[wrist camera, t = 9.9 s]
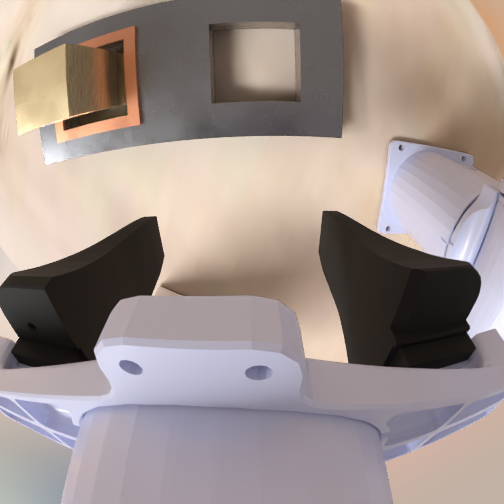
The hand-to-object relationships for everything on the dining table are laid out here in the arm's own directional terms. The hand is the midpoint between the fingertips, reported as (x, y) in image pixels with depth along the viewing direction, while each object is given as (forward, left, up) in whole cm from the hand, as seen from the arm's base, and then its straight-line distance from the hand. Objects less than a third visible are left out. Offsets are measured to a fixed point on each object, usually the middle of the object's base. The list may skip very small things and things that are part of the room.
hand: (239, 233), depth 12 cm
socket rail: (+5, -8, -9) cm, 13 cm away
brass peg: (+10, -8, -10) cm, 16 cm away
